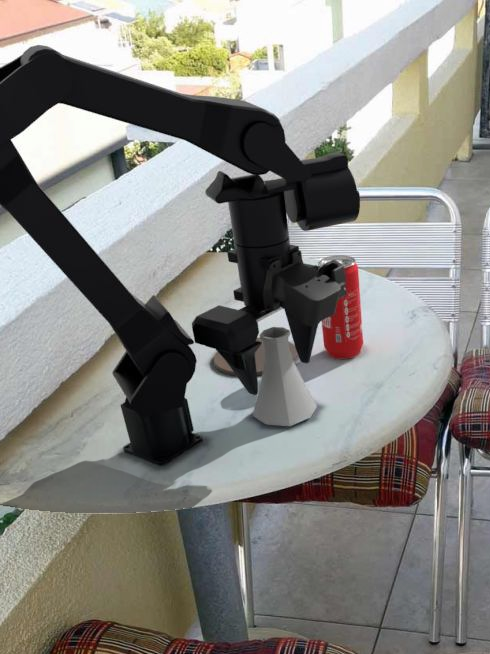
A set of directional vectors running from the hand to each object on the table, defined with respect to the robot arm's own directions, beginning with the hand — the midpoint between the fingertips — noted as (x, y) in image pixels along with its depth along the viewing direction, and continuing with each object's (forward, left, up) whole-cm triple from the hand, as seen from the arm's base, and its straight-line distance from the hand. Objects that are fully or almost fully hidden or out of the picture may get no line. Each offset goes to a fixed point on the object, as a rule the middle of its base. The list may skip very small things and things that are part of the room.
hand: (279, 377), depth 98 cm
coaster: (+10, +13, -4) cm, 17 cm away
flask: (0, 0, -5) cm, 5 cm away
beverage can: (+17, +4, -5) cm, 18 cm away
